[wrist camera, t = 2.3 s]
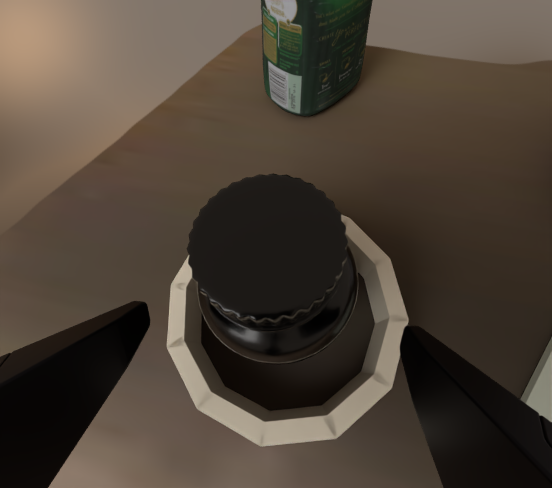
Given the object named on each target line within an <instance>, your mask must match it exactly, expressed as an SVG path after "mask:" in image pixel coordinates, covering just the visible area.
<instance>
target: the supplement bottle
mask: <svg viewBox="0 0 552 488" xmlns="http://www.w3.org/2000/svg"><path fill="white" fill-rule="evenodd" d="M345 233H346V226H345V225H344V223H343V222H342V221H341V213H340V212H339V211H338V210H337V209H336V208H335V205H334V202H333V201H331V200H330V199H328V198H327V197H326V195H325V193H324V192H323V191H321V190H318V189H316V188H315V186H314V185H313V184H311V183H306V182H304V181H303V180H302V179H300V178H292V177H291V176H289V175H277V174H269V175H256V176H255V177H246V178H244V179H242V180H241V181H238V182H233V183H231V184H230V185H229V186H228V187H227V188H224V189H221V190H220V191H219V192H218V193H217V195H215V196H213V197H212V198H210V199H209V201H208V203H207V205H205V206H204V207H203V208H202V209H200V212H199V216H198V217H197V218H196V219H195V220H194V221H193V229H192V230H191V232H190V233H189V240H190V242H189V244H188V247H187V251H188V253H189V259H188V264H189V266H190V267H191V269H192V278H193V279H194V280H195V281H196V282H197V294H198V301H199V305H200V309H201V311H202V314H203V317H204V319H205V321H206V323H207V325H208V326H209V328H210V330H211V331H212V332H213V333H214V335H215V336H216V337H217V338H218V339H219V340H220V341H221V342H222V343H223V344H224V345H225V346H226V347H228V348H229V349H231V350H232V351H234V352H235V353H237V354H239V355H241V356H243V357H245V358H248V359H250V360H253V361H257V362H260V363H267V364H288V363H294V362H298V361H302V360H304V359H306V358H309V357H312V356H314V355H315V354H317V353H319V352H321V351H322V350H323V349H325V348H326V347H327V346H329V345H330V344H331V343H332V342H333V341H334V340H335V339H336V338H337V337H338V336H339V335H340V333H341V332H342V331H343V329H344V328H345V326H346V325H347V323H348V321H349V320H350V317H351V315H352V313H353V310H354V307H355V304H356V300H357V295H358V272H357V267H356V262H355V259H354V256H353V254H352V252H351V249H350V247H349V246H348V240H347V237H346V235H345Z"/></svg>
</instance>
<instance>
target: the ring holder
mask: <svg viewBox="0 0 552 488" xmlns="http://www.w3.org/2000/svg"><path fill="white" fill-rule="evenodd" d="M341 221H342V222H343V223H344V225H345V226H346V233H345V235H346V237H347V240H348V246H349V247H350V249H351V252H352V254H353V256H354V259H355V262H356V267H357V271H358V272H359V273H360V274H361V276H362V277H363V278H364V281H365V285H366V289H367V293H368V297H369V301H370V305H371V309H372V313H373V317H374V321H375V326H374V329H373V333H372V336H371V339H370V343H369V346H368V350H367V353H366V356H365V360H364V363H363V367H362V370H361V372H360V373H359V374H358V375H357V376H355V377H354V378H353V379H352V380H351V381H350V382H348V383H347V384H346V385H345V386H344V387H343V388H342V389H340V390H339V391H338V392H337V393H336V394H335V395H333V396H332V397H331V398H330V399H329V400H328V401H327V402H325V403H324V404H323V405H322V406H312V407H303V408H294V409H284V410H275V411H269V410H267V409H265V408H264V407H262V406H260V405H258V404H256V403H254V402H253V401H251V400H249V399H247V398H245V397H243V396H242V395H240V394H238V393H236V392H234V391H232V390H231V389H229V388H227V387H225V386H224V384H223V382H222V380H221V378H220V377H219V375H218V373H217V371H216V369H215V368H214V366H213V364H212V362H211V360H210V358H209V357H208V355H207V353H206V351H205V349H204V348H203V346H202V344H201V320H202V311H201V309H200V305H199V301H198V294H197V282H196V281H195V280H194V279H193V278H192V269H191V267H190V266H189V264H188V259H189V256H188V258H187V259H186V261H185V263H184V264H183V266H182V267H181V269H180V271H179V272H178V274H177V276H176V277H175V279H174V281H173V282H172V284H171V293H170V308H169V322H168V337H167V349H168V351H169V353H170V355H171V357H172V359H173V361H174V363H175V365H176V367H177V369H178V371H179V373H180V375H181V377H182V379H183V381H184V383H185V385H186V387H187V389H188V391H189V393H190V395H191V397H192V399H193V402H194V404H195V406H196V408H197V410H200V411H201V412H203V413H205V414H206V415H208V416H210V417H211V418H213V419H215V420H217V421H218V422H220V423H222V424H223V425H225V426H227V427H229V428H230V429H232V430H234V431H235V432H237V433H239V434H240V435H242V436H244V437H246V438H247V439H249V440H251V441H252V442H254V443H256V444H258V445H259V446H260V447H262V446H271V445H280V444H290V443H300V442H310V441H319V440H329V439H337V438H338V437H339V436H340V435H341V434H342V433H343V432H344V431H346V430H347V429H348V428H349V427H350V426H351V425H352V424H353V423H354V422H355V421H357V420H358V419H359V418H360V417H361V416H362V415H363V414H364V413H365V412H366V411H368V410H369V409H370V408H371V407H372V406H373V405H374V404H375V403H376V402H377V401H379V400H380V399H381V398H382V397H383V396H384V395H385V394H386V393H387V392H388V391H390V390H391V389H392V386H393V382H394V378H395V374H396V369H397V365H398V361H399V357H400V342H401V338H402V334H403V330H404V328H405V326H407V325H408V321H409V319H408V316H407V313H406V309H405V306H404V303H403V299H402V296H401V293H400V289H399V286H398V283H397V280H396V276H395V273H394V270H393V266H392V263H391V260H390V258H389V257H388V256H387V255H386V254H385V253H384V252H383V251H382V250H381V249H380V248H379V247H378V246H377V245H376V244H375V243H374V242H373V241H372V240H371V239H370V238H369V237H368V236H367V235H366V234H365V233H364V232H363V231H362V230H361V229H360V228H359V227H358V226H357V225H356V224H355V223H354V222H353V221H352V220H351V219H350V218H349V217H346V216H343V215H341Z"/></svg>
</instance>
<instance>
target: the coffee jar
mask: <svg viewBox="0 0 552 488" xmlns="http://www.w3.org/2000/svg"><path fill="white" fill-rule="evenodd" d="M371 5H372V0H261V10H262V44H263V71H264V83H265V90H266V92H267V94H268V96H269V97H270V98H271V99H272V101H273V102H274V103H275V104H277V105H278V106H279V107H280V108H282V109H283V110H285V111H286V112H289V113H292V114H296V115H301V116H311V115H314V114H317V113H319V112H321V111H322V110H324V109H326V108H328V107H329V106H331V105H333V104H334V103H335V102H337V101H338V100H340V99H341V98H342V97H343V96H345V95H346V94H347V93H348V92H349V91H350V90H351V89H352V88H353V87H354V86H355V85H356V84H357V82H358V81H359V78H360V74H361V69H362V64H363V58H364V52H365V45H366V38H367V30H368V24H369V17H370V11H371Z"/></svg>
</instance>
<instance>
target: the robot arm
mask: <svg viewBox="0 0 552 488" xmlns="http://www.w3.org/2000/svg"><path fill="white" fill-rule="evenodd" d="M149 326H150V316H149V311H148V306H147V304H146V303H145V302H141V301H133V302H130V303H128V304H126V305H123V306H121V307H118V308H116V309H114V310H111V311H109V312H106V313H104V314H102V315H99V316H97V317H94V318H92V319H90V320H87V321H85V322H82V323H80V324H78V325H75V326H73V327H71V328H68V329H66V330H63V331H61V332H59V333H56V334H54V335H51V336H49V337H47V338H44V339H42V340H39V341H37V342H35V343H32V344H30V345H27V346H25V347H23V348H20V349H18V350H15V351H13V352H12V353H8V354H6V355H3V356H1V357H0V488H48V487H49V485H50V484H51V482H52V481H53V479H54V478H55V476H56V475H57V473H58V472H59V470H60V469H61V467H62V466H63V464H64V463H65V461H66V460H67V458H68V457H69V455H70V454H71V452H72V451H73V449H74V448H75V446H76V445H77V443H78V442H79V440H80V438H81V437H82V435H83V434H84V432H85V431H86V429H87V428H88V426H89V425H90V423H91V422H92V420H93V419H94V417H95V416H96V414H97V413H98V411H99V410H100V408H101V407H102V405H103V404H104V402H105V401H106V399H107V398H108V396H109V395H110V393H111V392H112V390H113V389H114V387H115V385H116V384H117V382H118V381H119V379H120V378H121V376H122V375H123V373H124V372H125V370H126V369H127V367H128V365H129V364H130V362H131V360H132V358H133V356H134V355H135V353H136V351H137V349H138V347H139V345H140V343H141V341H142V340H143V338H144V336H145V334H146V332H147V330H148V328H149ZM400 354H401V358H402V362H403V366H404V370H405V375H406V379H407V383H408V387H409V391H410V395H411V398H412V401H413V404H414V407H415V410H416V413H417V416H418V418H419V421H420V424H421V427H422V429H423V432H424V435H425V438H426V440H427V443H428V446H429V449H430V452H431V454H432V457H433V460H434V463H435V465H436V468H437V471H438V474H439V477H440V479H441V482H442V485H443V488H552V422H551V421H549V420H548V419H547V418H545V417H544V416H542V415H539V413H538V412H537V411H535V410H534V409H533V408H531V407H530V406H528V405H527V404H526V403H524V402H523V401H522V400H520V399H519V398H517V397H516V396H515V395H513V394H512V393H511V392H509V391H508V390H506V389H505V388H504V387H502V386H501V385H499V384H498V383H497V382H495V381H494V380H493V379H491V378H490V377H488V376H487V375H486V374H484V373H483V372H482V371H480V370H479V369H477V368H476V367H475V366H473V365H472V364H471V363H469V362H468V361H466V360H465V359H464V358H462V357H461V356H459V355H458V354H457V353H455V352H454V351H453V350H451V349H450V348H448V347H447V346H446V345H444V344H443V343H442V342H440V341H439V340H437V339H436V338H435V337H433V336H432V335H431V334H429V333H428V332H426V331H425V330H424V329H422V328H421V327H419V326H410V325H407V326H405V328H404V330H403V334H402V338H401V342H400Z"/></svg>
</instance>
